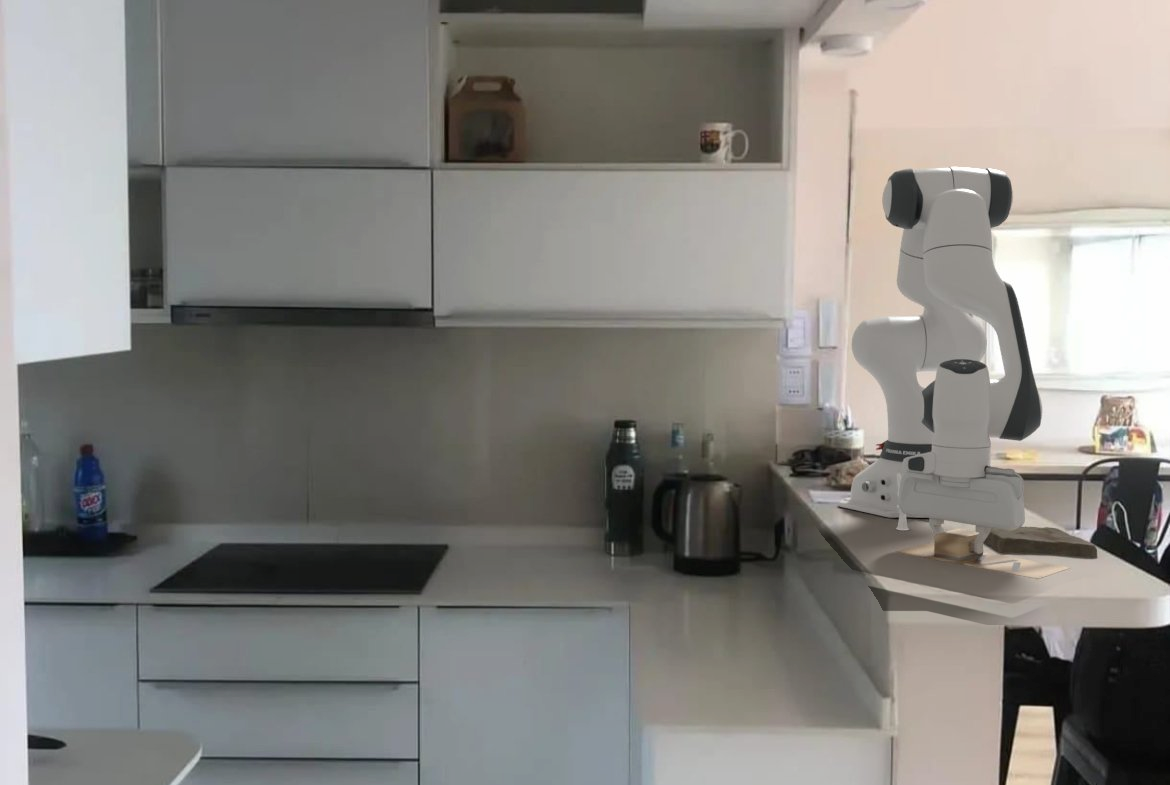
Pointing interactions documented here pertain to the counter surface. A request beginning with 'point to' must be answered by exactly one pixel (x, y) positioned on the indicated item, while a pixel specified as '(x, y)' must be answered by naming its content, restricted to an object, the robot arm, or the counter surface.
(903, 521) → the chess piece
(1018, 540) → the marble piece
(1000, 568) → the board
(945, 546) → the block
